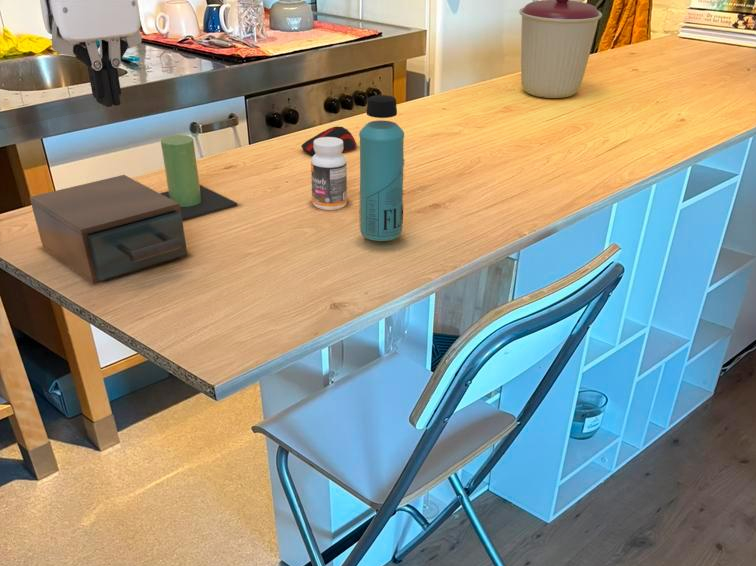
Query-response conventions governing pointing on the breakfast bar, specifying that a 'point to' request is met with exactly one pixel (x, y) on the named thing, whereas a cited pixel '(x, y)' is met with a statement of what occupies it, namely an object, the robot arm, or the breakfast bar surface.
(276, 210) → the breakfast bar surface
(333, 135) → the computer mouse
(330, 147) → the pill bottle
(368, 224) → the beverage bottle
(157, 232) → the drawer
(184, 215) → the mat
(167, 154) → the green can
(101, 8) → the robot arm
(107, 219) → the cabinet
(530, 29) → the canister
